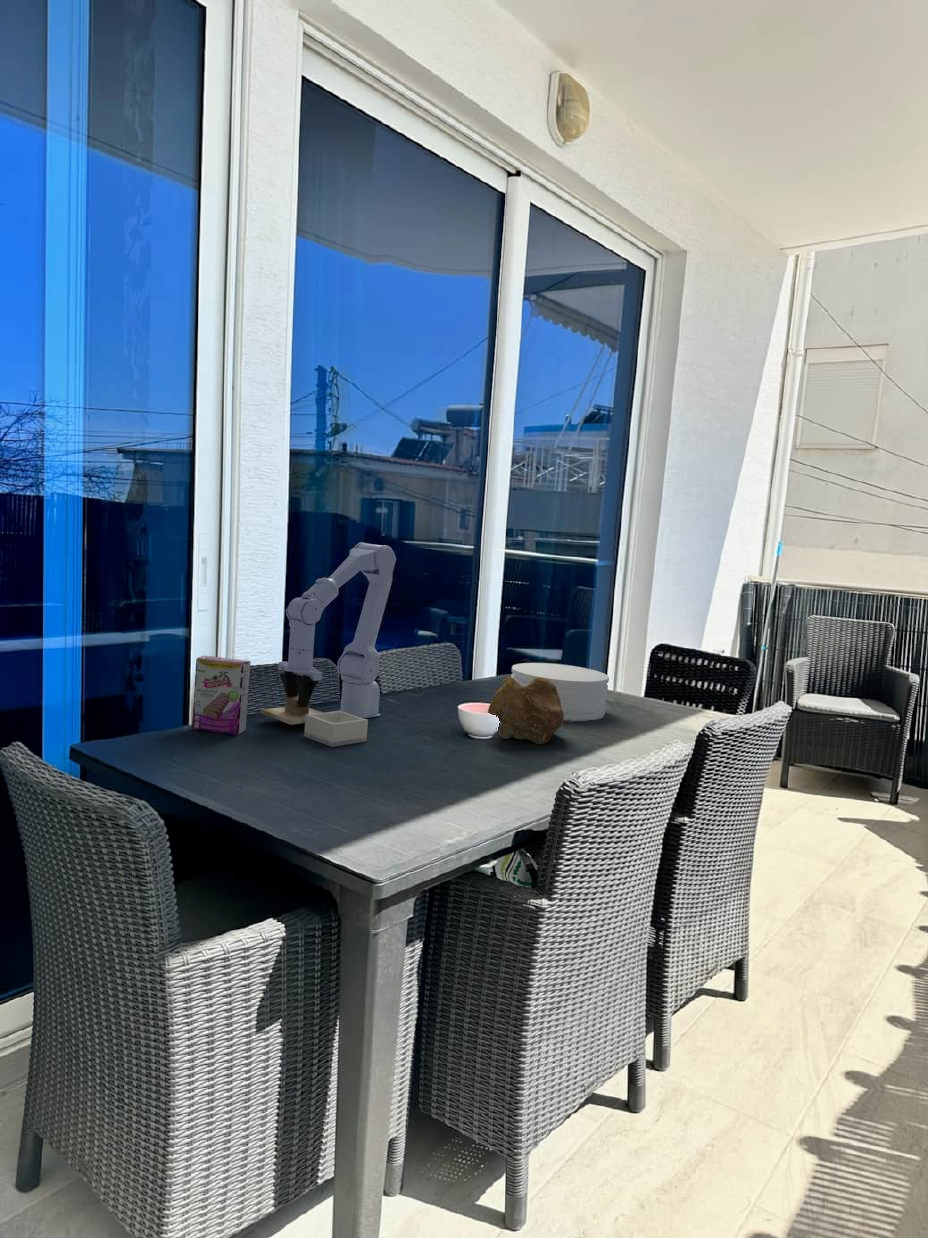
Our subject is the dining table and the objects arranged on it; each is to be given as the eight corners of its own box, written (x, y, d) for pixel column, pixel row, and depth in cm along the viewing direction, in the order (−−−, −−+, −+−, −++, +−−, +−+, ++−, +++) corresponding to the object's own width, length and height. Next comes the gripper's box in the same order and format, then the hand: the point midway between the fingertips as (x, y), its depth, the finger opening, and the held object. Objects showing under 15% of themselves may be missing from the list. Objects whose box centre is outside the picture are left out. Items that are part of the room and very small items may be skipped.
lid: (301, 709, 219) (303, 691, 218) (331, 719, 211) (333, 701, 210) (260, 713, 210) (262, 695, 210) (290, 724, 202) (292, 705, 201)
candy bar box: (190, 730, 197) (194, 658, 195) (199, 725, 202) (203, 654, 200) (239, 735, 196) (243, 663, 194) (246, 730, 201) (251, 659, 199)
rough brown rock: (530, 756, 204) (542, 694, 202) (474, 734, 214) (485, 675, 212) (581, 745, 222) (592, 688, 220) (527, 726, 232) (538, 671, 230)
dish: (338, 731, 208) (340, 710, 207) (366, 741, 201) (368, 719, 200) (304, 736, 200) (305, 714, 200) (331, 746, 194) (333, 724, 193)
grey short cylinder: (491, 700, 262) (495, 662, 261) (571, 699, 274) (575, 663, 273) (538, 723, 237) (542, 681, 236) (624, 721, 249) (628, 681, 248)
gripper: (269, 644, 211) (265, 700, 212) (306, 654, 201) (302, 713, 202) (293, 643, 216) (289, 697, 217) (330, 653, 206) (326, 709, 208)
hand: (297, 704), depth 210 cm, fingers closed on lid, 4 cm apart
